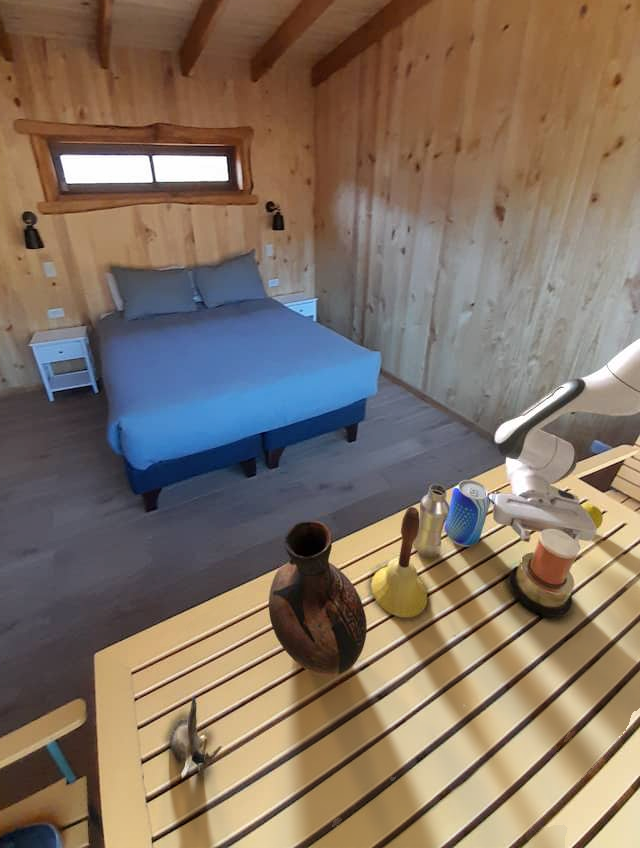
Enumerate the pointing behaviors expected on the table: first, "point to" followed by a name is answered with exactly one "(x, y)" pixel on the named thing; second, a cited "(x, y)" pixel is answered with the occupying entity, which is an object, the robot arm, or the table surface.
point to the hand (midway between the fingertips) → (550, 544)
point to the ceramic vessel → (316, 604)
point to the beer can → (467, 513)
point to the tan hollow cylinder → (540, 591)
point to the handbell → (401, 576)
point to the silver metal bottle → (431, 521)
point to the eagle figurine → (190, 743)
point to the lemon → (594, 514)
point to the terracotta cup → (554, 556)
